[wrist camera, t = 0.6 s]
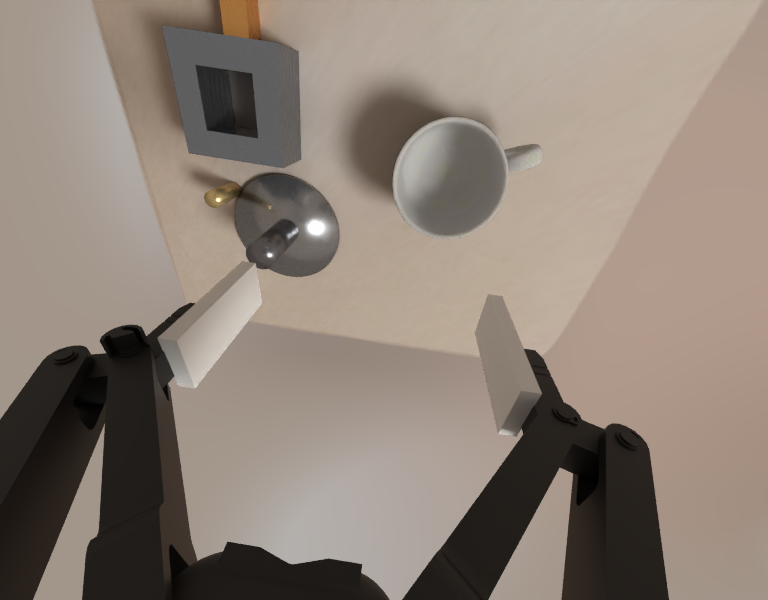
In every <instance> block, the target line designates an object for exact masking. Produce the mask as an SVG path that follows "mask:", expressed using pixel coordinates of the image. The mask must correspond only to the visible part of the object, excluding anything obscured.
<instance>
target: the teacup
mask: <svg viewBox="0 0 768 600" xmlns="http://www.w3.org/2000/svg"><path fill="white" fill-rule="evenodd" d="M541 159H542V149H541V147H540V145H538V144H530V145H524V146H518V147H514V148H510V149H506V150H504V149H503V147H502V145H501V143H500V141H499V139H498V138H497V137H496V135H495V134H494V133H493V132H492V131H491V130H490V129H489V128H488V127H486V126H485V125H484V124H482V123H480V122H478V121H476V120H473V119H470V118H466V117H445V118H441V119H437V120H434V121H432V122H429V123H428V124H426V125H424V126H423V127H421V128H420V129H418V130H417V131H416V132H415V133H414V134H413V135H412V136H411V137H410V138H409V139H408V140H407V142H406V143H405V144H404V146H403V147H402V149H401V151H400V153H399V155H398V157H397V159H396V163H395V166H394V171H393V179H392V187H393V196H394V200H395V203H396V206H397V208H398V210H399V212H400V214H401V216H402V217H403V219H404V220H405V221H406V222H407V223H408V224H409V225H410V226H411V227H412V228H414V229H415V230H417V231H418V232H420V233H422V234H424V235H426V236H429V237H432V238H437V239H454V238H460V237H463V236H466V235H467V234H470V233H472V232H475V231H476V230H478V229H479V228H481V227H482V226H484V225H485V224H486V223H487V222H488V221H489V220H490V219H491V218H492V217H493V216H494V214H495V213H496V212H497V210H498V209H499V207H500V205H501V203H502V201H503V199H504V196H505V193H506V188H507V182H508V173H512V172H517V171H522V170H525V169H529V168H532V167H534V166H536V165H538V164H539V163H540V162H541Z"/></svg>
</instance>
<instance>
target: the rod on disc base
mask: <svg viewBox="0 0 768 600" xmlns="http://www.w3.org/2000/svg"><path fill="white" fill-rule="evenodd" d="M235 223H236V227H237V231H238V234H239V236H240V238H241V241H242V242H243V244H244V246H245V247H246V256H247V258H248V260H249V262H251V263H256V267H257V268H260V269H270V270H272V271H274V272H277V273H279V274H282V275H286V276H293V277H303V276H309V275H312V274H315V273H317V272H319V271H321V270H322V269H324V268H325V267H326V266H327V265H328V264H329V263H330V262H331V260H332V259H333V257H334V255H335V253H336V251H337V248H338V244H339V226H338V222H337V218H336V216H335V213H334V211H333V209H332V207H331V206H330V204H329V203H328V201H327V200H326V199H325V197H324V196H323V195H322V194H321V193H320V192H319V191H318V190H317V189H315V188H314V187H313V186H311V185H310V184H308V183H307V182H305V181H303V180H301V179H299V178H296V177H293V176H289V175H283V174H271V175H266V176H263V177H260V178H258V179H256V180H254V181H252V182H251V183H249V184H248V185H247V186H246V187H245V188H244V189H243V191H242V192H241V194H240V196H239V197H238V200H237V203H236V208H235Z"/></svg>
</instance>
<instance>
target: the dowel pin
mask: <svg viewBox="0 0 768 600" xmlns="http://www.w3.org/2000/svg"><path fill="white" fill-rule="evenodd" d="M241 192H242V190H241V187H240V186H239V185H238V184H237V183H236V182H230V183H227V184H225V185H223V186H220V187H218V188H216V189H213V190H211V191H209V192H206V193H205V195H204V199H205V202H206V203H207V204H208V205H209V206H210V207H213V208H216V207H219V206H221V205H222V204H224V203H226V202H228V201H230V200H232V199H234V198H236V197H238V196H240V194H241Z"/></svg>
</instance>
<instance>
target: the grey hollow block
mask: <svg viewBox="0 0 768 600" xmlns="http://www.w3.org/2000/svg"><path fill="white" fill-rule="evenodd" d="M219 2H220V10H221V17H222V25H223V33H224V35H223V34H216V33H210V32H203V31H196V30H190V29H183V28H177V27H170V26H163V25H162V30H163V34H164V39H165V44H166V48H167V53H168V58H169V62H170V67H171V72H172V76H173V81H174V86H175V90H176V95H177V100H178V104H179V109H180V114H181V118H182V123H183V128H184V132H185V137H186V142H187V146H188V151H189V153H191V154H197V155H204V156H210V157H216V158H223V159H229V160H235V161H242V162H248V163H254V164H261V165H267V166H273V167H280V168H285V167H287V166H289V165H291V164H293V163H295V162H297V161H299V160H301V134H300V94H299V55H298V51H296V50H293V49H291V48H289V47H286V46H284V45H281V44H279V43H276V42H269V41H263V40H261V37H260V25H259V12H258V0H219ZM228 70H231V71H238V72H244V73H251V74H252V78H253V88H254V99H255V109H256V120H257V130H254V129H247V128H241V127H235V120H234V113H233V105H232V97H231V90H230V82H229V74H228Z"/></svg>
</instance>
